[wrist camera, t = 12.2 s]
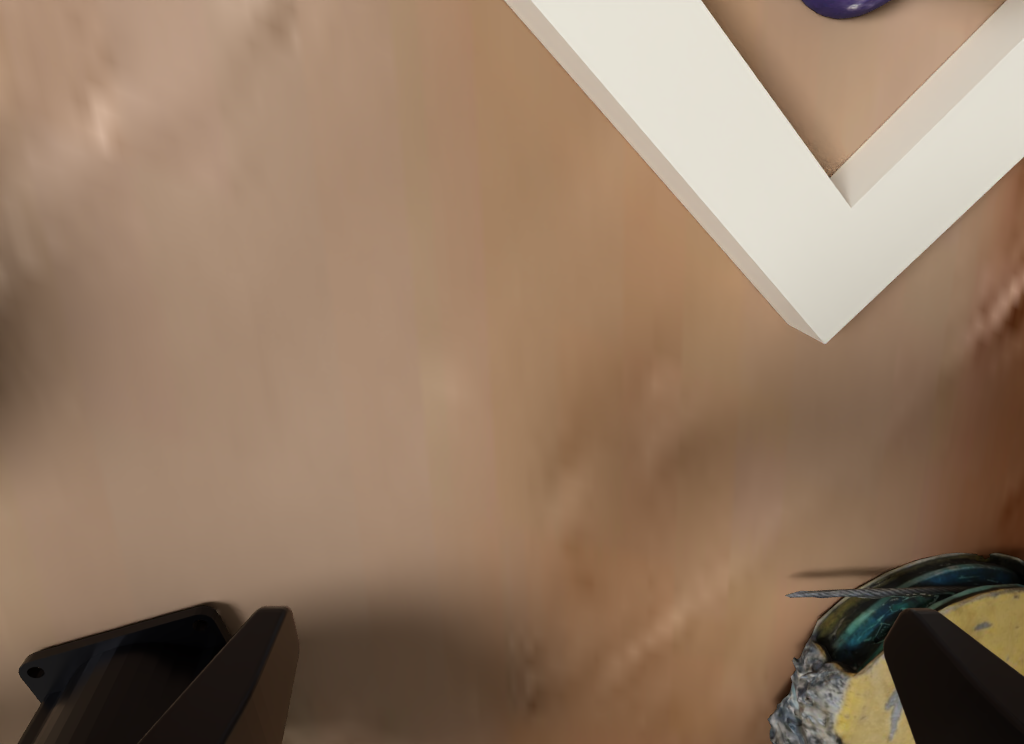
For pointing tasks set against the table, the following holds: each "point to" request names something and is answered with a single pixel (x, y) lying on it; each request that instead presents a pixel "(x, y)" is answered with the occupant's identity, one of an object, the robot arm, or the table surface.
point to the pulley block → (860, 637)
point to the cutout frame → (793, 147)
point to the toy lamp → (843, 7)
